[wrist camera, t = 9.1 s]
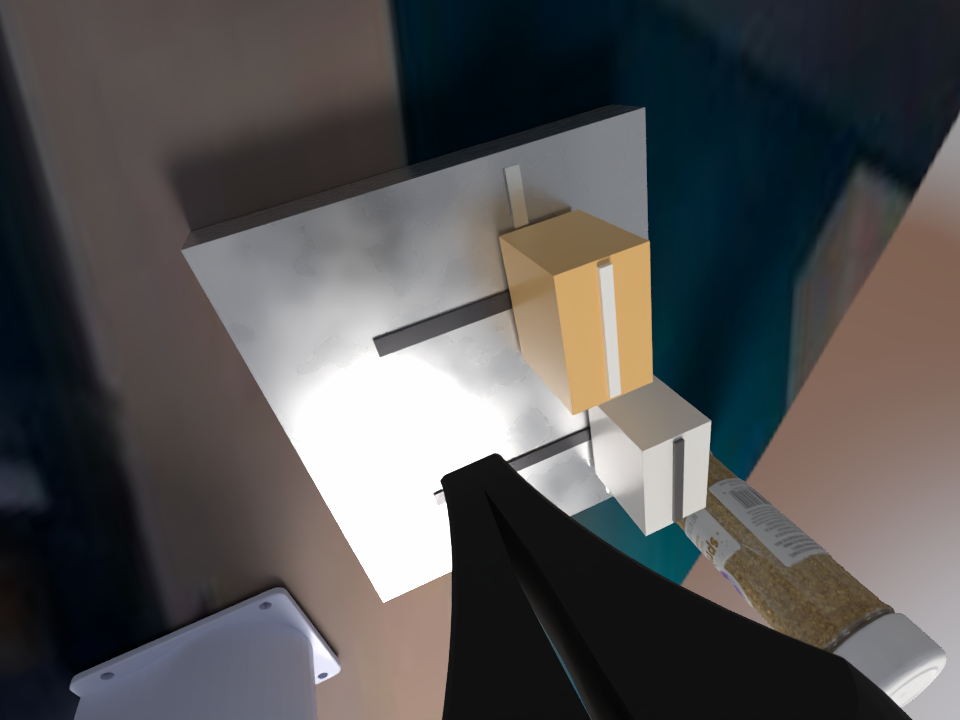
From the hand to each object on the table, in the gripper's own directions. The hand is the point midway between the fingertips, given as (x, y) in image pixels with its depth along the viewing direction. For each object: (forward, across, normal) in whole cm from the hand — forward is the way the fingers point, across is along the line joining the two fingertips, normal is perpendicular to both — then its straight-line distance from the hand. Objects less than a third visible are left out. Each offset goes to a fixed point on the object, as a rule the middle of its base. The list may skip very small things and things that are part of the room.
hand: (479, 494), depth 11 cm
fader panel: (+10, -2, +4) cm, 11 cm away
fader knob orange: (+8, -6, 0) cm, 9 cm away
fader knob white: (+8, -8, +8) cm, 14 cm away
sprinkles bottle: (+10, -13, +16) cm, 23 cm away
